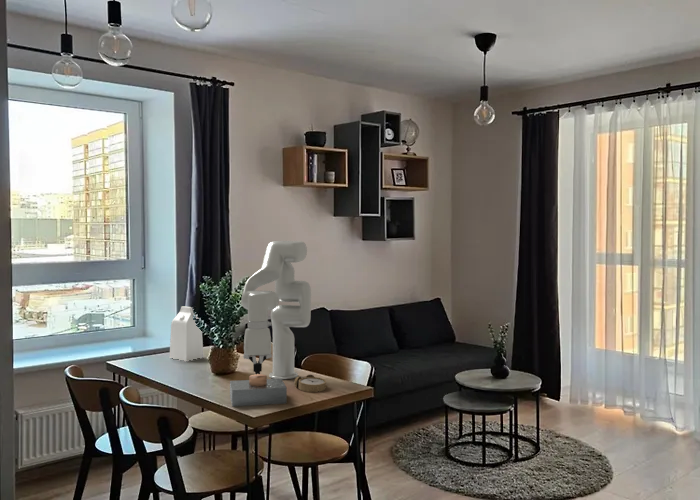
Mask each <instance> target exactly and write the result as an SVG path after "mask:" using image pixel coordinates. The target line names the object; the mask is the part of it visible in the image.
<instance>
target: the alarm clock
mask: <svg viewBox="0 0 700 500" xmlns="http://www.w3.org/2000/svg"><path fill="white" fill-rule="evenodd" d="M293 383H294V384H293V385H294V386H295V387H294V388H298V390H300V391H302V392H307V393H317V392H318V391H319V392H322V391H323V392H324V391H326V390H327V389H326V388H328V387H329V386H328V385H327V384H326V383H327V380H326V379H324V378H322V377H316V376H314V375H313V374H307V375H306V376H304V377H302V376H297V377H296V378H294V380H293Z"/></svg>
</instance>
